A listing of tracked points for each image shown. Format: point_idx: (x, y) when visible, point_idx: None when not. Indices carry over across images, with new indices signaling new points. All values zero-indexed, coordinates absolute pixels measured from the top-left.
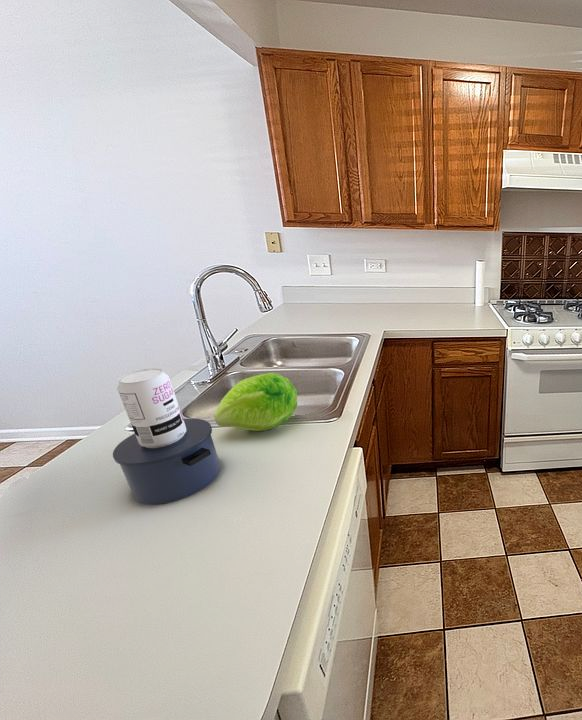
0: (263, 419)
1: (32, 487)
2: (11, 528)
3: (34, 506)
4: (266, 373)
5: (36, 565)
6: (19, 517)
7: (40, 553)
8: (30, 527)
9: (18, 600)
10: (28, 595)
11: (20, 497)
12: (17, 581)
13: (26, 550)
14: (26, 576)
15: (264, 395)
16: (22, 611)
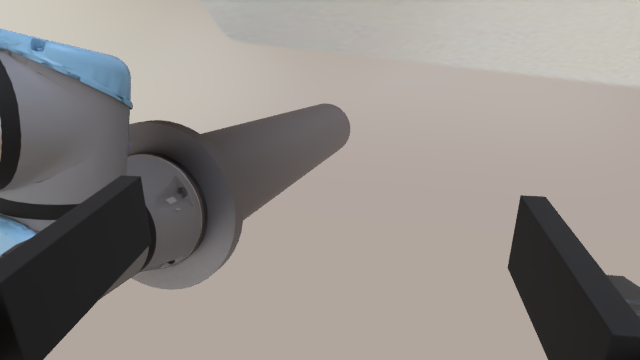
0: None
1: (218, 6)
2: (337, 49)
3: (293, 13)
4: None
5: (496, 36)
6: (310, 36)
7: (464, 26)
8: (362, 27)
9: (570, 67)
10: (572, 55)
11: (239, 26)
12: (514, 62)
13: (432, 41)
14: (513, 51)
15: None
16: (607, 67)
